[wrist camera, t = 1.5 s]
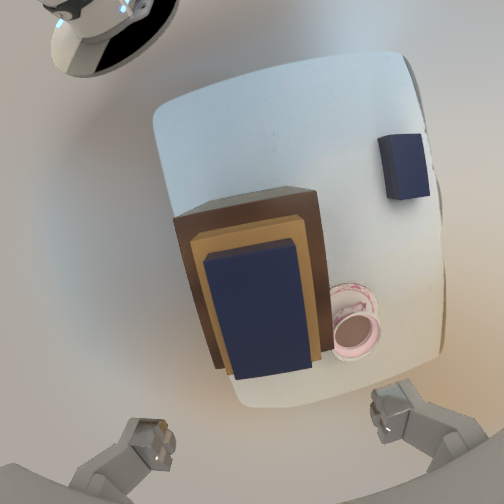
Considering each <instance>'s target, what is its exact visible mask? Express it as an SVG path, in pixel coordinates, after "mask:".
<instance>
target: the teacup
mask: <svg viewBox="0 0 504 504" xmlns="http://www.w3.org/2000/svg"><path fill="white" fill-rule="evenodd" d="M330 297H331V308H332V319H333V332H334V347H335V348H334V349H333V350H332V351H333V353H334V355H335V356H336V357H337V358H338V359H340V360H342V361H346V362H352V361H357V360H359V359H362V358H363V357H365V356H366V355H368V354H369V353H370V352H371V351H372V350H373V349H374V348H375V346H376V345H377V343H378V341H379V339H380V336H381V322H380V320H379V318H378V316H379V306H378V301H377V300H376V298H375V296H374V294H373V293H372V292H371V291H370V290H368V289H367V288H366V287H364V286H361V285H358V284H342V285H339V286H336V287H333V288H331V289H330Z"/></svg>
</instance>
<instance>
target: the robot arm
mask: <svg viewBox="0 0 504 504" xmlns="http://www.w3.org/2000/svg"><path fill="white" fill-rule="evenodd" d="M38 1H40V2H41V3H43V6H44V8H46V9H47V10H48V11H50V12H51V13H52V14H54V15H55V16H56V17H58V18H60V20H59V22H58V23H57V25H56V27H58V28H59V27H60V25H61V24H62V22H63V21H66V22H67V23H68V24H69V25H70V27H71V28H72V29H73V31H74V32H75V34H76V36H77V38H78V39H79V40H80V41H81V42H83V43H86V44H95V43H99V42H102V41H105V40H107V39H109V38H111V37H113V36H115V35H116V34H118V33H119V32H121V31H122V30H123V29H125V28H126V27H127V26H128V25H130V24H131V23H133V22H136V21H138V20H140V19H143V18H144V17H146V16H147V15H148V14H149V12H150V10H151V7H152V4H153V2H154V0H38ZM144 7H145V8H144ZM371 398H372V400H373V402H372V403H371V405H370V414H371V419H372V422H373V424H374V426H376V427H378V432H377V434H378V436H379V438H380V441H381V443H382V445H384V444H387V443H390V442H393V441H396V440H399V439H402V438H403V440H404V441H406V442H407V443H409V444H411V445H412V446H414V447H416V448H417V449H419V450H420V451H422V452H424V453H425V454H427V455H429V456H431V457H432V458H433V460H432V462H431V464H430V466H429V467H428V469H427V473H426V474H424V475H422V476H420V477H417V478H415V479H412V480H410V481H408V482H405V483H403V484H400V485H397V486H395V487H392V488H389V489H386V490H384V491H381V492H377V493H374V494H371V495H368V496H365V497H361V498H358V499H354V500H350V501H346V502H342V503H338V504H504V428H503V429H502V430H501V431H499V432H498V433H496V434H495V435H493V436H492V437H490V438H488V436H487V435H486V433H485V432H484V431H483V429H482V428H481V426H480V425H479V424H478V422H477V421H476V420H475V419H474V418H471V417H468V416H466V415H463V414H460V413H457V412H454V411H451V410H449V409H446V408H443V407H441V406H438V405H435V404H433V403H430V402H428V403H425V401H424V400H423V399H422V397H421V396H420V394H419V393H418V391H417V390H416V388H415V387H414V385H413V384H412V383H411V381H410V380H409V379H404V380H401V381H399V382H396V383H393V384H390V385H387V386H384V387H381V388H378V389H374V390H372V393H371ZM167 427H168V424H167V423H166V421H165V420H162V419H145V418H131V419H129V421H128V423H127V425H126V427H125V429H124V431H123V433H122V436H121V438H120V440H119V442H118V444H113V445H112V446H110V447H109V448H107V449H106V450H104V451H103V452H101V453H100V454H98V455H97V456H95V457H94V458H92V459H91V460H89V461H88V462H86V463H84V464H83V465H81V466H80V467H78V469H77V471H76V472H75V475H74V477H73V478H72V480H71V482H70V484H69V486H68V487H66V486H64V485H61V484H59V483H56V482H54V481H52V480H49V479H47V478H45V477H43V476H40V475H38V474H36V473H34V472H32V471H30V470H28V469H26V468H24V467H22V466H20V465H18V464H15V463H11V464H8V465H5V466H3V467H0V504H134V503H133V502H132V501H131V500H130V499H129V498H128V497H126V495H127V494H128V493H129V492H130V491H131V490H133V489H134V488H135V487H136V486H137V485H138V484H139V483H140V482H141V481H142V480H143V479H144V478H145V477H146V476H147V475H148V474H149V473H150V472H151V470H156V471H170V467H171V464H172V460H173V459H172V458H171V456H170V455H171V454H173V453H174V452H175V448H176V439H175V436H174V434H173V432H171V431H170V430H168V429H167Z"/></svg>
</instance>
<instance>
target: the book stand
mask: <svg viewBox="0 0 504 504" xmlns="http://www.w3.org/2000/svg"><path fill="white" fill-rule="evenodd" d="M294 214H297V215H298V216H300V217H301V218H302V219H304V223H305V230H306V236H307V243H308V249H309V256H310V263H311V270H312V278H313V286H314V293H315V302H316V310H317V319H318V328H319V338H320V349H321V352H324V351H328V350H333V349H334V348H335V347H334V332H333V319H332V308H331V297H330V287H329V278H328V269H327V261H326V253H325V245H324V238H323V230H322V224H321V217H320V210H319V204H318V198H317V192H316V190H310V189H304V188H298V187H291V186H284V187H278V188H273V189H267V190H262V191H257V192H252V193H246V194H241V195H236V196H231V197H227V198H222V199H217V200H212V201H209V202H207V203H204V204H202V205H200V206H198V207H196V208H194V209H192V210H190V211H188V212H185V213H183V214H181V215H179V216H177V217H175V218H173V221H174V226H175V230H176V234H177V238H178V242H179V246H180V250H181V254H182V258H183V262H184V266H185V269H186V273H187V277H188V280H189V284H190V288H191V291H192V295H193V298H194V302H195V305H196V309H197V312H198V315H199V319H200V322H201V325H202V329H203V332H204V335H205V338H206V341H207V344H208V347H209V351H210V354H211V357H212V360H213V363H214V366H215V369H222V368H225V366H224V362H223V359H222V356H221V353H220V350H219V346H218V343H217V340H216V336H215V333H214V330H213V326H212V323H211V319H210V316H209V312H208V309H207V305H206V301H205V298H204V294H203V290H202V287H201V283H200V279H199V275H198V272H197V268H196V264H195V260H194V256H193V252H192V248H191V244H190V241H191V240H192V239H193V238H194V237H195V236H196V235H197V234H199V233H201V232H206V231H211V230H216V229H221V228H226V227H231V226H236V225H241V224H246V223H251V222H257V221H262V220H267V219H273V218H278V217H283V216H289V215H294Z"/></svg>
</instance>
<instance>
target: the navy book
mask: <svg viewBox="0 0 504 504" xmlns="http://www.w3.org/2000/svg"><path fill="white" fill-rule="evenodd" d="M203 265H204V269H205V273H206V277H207V281H208V285H209V288H210V292H211V296H212V300H213V304H214V307H215V311H216V315H217V318H218V322H219V325H220V329H221V332H222V336H223V339H224V343H225V346H226V350H227V353H228V357H229V360H230V363H231V367H232V370H233V373H234V376H235V379H236V380H241V379H248V378H256V377H262V376H269V375H275V374H281V373H287V372H292V371H298V370H303V369H308V368H312V361H311V352H310V343H309V335H308V327H307V319H306V312H305V304H304V297H303V290H302V283H301V276H300V269H299V263H298V256H297V250H296V245H295V243H294V242H293V240H292V238H286V239H281V240H275V241H270V242H265V243H259V244H254V245H249V246H244V247H238V248H233V249H228V250H223V251H217V252H212V253H208V254H207V256H206V258H205V259H204V261H203Z"/></svg>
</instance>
